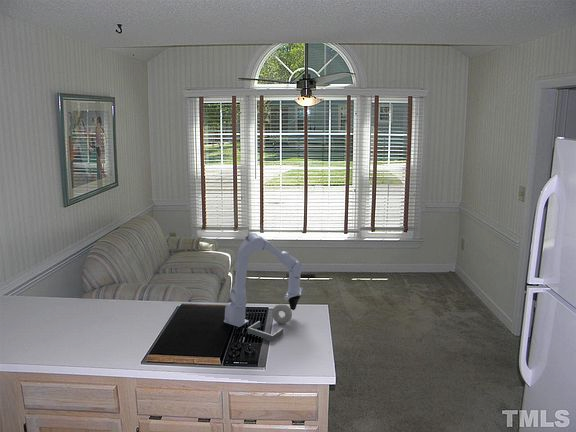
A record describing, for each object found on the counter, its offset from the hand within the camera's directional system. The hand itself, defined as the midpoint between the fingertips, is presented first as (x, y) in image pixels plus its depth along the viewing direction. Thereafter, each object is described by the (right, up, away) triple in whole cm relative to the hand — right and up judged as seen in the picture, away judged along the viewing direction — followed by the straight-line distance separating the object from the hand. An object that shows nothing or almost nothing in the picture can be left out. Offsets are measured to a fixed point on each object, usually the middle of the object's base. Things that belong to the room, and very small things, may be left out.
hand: (292, 309), depth 255 cm
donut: (-6, -6, -8) cm, 11 cm away
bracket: (-13, -8, -20) cm, 25 cm away
